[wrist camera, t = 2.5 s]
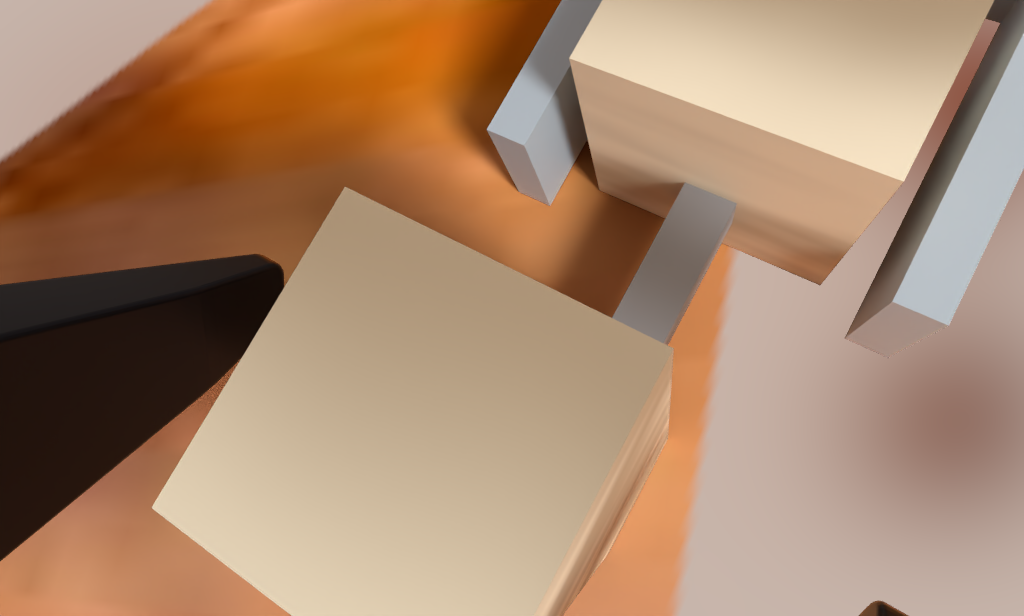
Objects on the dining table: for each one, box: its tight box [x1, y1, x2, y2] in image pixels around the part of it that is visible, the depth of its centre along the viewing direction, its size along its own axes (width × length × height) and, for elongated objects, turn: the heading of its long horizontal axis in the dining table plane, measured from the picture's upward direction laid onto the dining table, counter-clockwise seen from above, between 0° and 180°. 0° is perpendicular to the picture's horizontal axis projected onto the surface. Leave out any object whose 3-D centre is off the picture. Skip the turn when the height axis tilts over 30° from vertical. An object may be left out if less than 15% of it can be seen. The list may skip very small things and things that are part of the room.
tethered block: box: [152, 0, 994, 616], centre depth 11 cm, size 14×6×12 cm, turn 150°
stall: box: [487, 0, 1024, 358], centre depth 16 cm, size 10×10×4 cm
